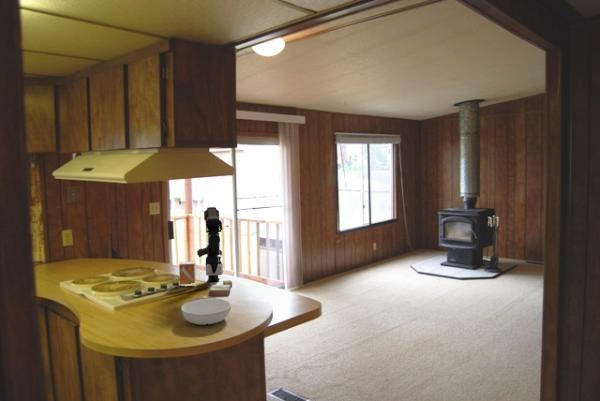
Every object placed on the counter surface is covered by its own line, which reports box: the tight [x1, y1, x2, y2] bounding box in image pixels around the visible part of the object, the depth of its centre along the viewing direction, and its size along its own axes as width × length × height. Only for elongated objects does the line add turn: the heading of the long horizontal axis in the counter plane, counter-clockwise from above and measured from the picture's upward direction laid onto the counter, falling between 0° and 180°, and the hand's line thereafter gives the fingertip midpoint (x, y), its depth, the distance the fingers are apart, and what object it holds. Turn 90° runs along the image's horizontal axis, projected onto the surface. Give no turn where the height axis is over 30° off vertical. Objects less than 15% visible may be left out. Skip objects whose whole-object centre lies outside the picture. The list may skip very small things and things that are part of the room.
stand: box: [208, 284, 232, 297], centre depth 241 cm, size 10×10×3 cm
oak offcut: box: [222, 279, 233, 288], centre depth 253 cm, size 4×4×3 cm
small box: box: [178, 261, 197, 285], centre depth 255 cm, size 8×6×13 cm
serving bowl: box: [180, 297, 232, 326], centre depth 199 cm, size 21×21×7 cm
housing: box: [205, 263, 224, 276], centre depth 240 cm, size 5×8×5 cm, turn 92°
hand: (214, 272), depth 240 cm, fingers closed on housing, 5 cm apart
